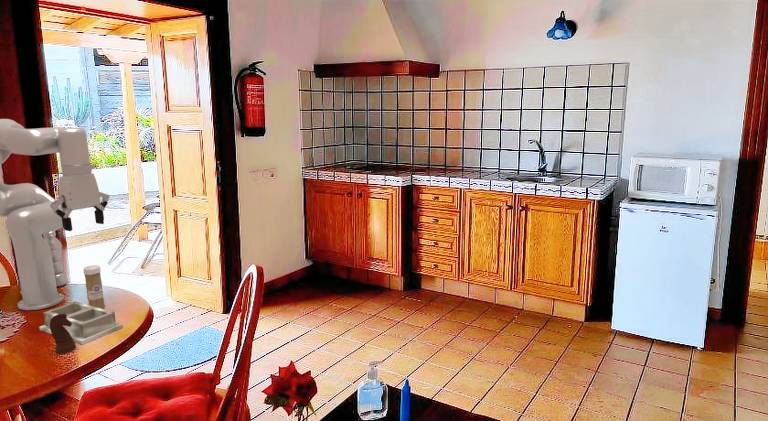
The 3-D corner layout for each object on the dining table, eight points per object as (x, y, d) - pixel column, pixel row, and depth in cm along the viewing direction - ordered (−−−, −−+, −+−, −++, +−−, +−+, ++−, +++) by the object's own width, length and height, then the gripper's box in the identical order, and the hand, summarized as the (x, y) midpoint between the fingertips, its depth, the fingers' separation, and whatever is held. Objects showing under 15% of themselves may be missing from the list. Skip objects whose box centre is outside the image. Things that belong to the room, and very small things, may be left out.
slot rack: (39, 330, 154) (37, 313, 153) (80, 315, 164) (78, 299, 163) (82, 344, 144) (79, 327, 143) (122, 327, 154) (120, 311, 153)
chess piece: (75, 351, 140) (70, 315, 138) (52, 355, 138) (47, 319, 136) (76, 344, 144) (71, 309, 142) (54, 348, 142) (49, 312, 140)
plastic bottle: (58, 289, 186) (49, 233, 182) (41, 288, 188) (32, 232, 184) (72, 283, 193) (64, 229, 188) (56, 282, 194) (48, 228, 190)
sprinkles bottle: (94, 311, 167) (89, 270, 164) (85, 309, 169) (79, 267, 166) (108, 306, 170) (103, 265, 168) (99, 304, 173) (93, 263, 170)
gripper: (97, 166, 168) (104, 219, 172) (39, 173, 154) (48, 231, 157) (111, 167, 164) (118, 222, 168) (53, 175, 150) (62, 234, 153)
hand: (84, 226), depth 162 cm, fingers open, 9 cm apart
